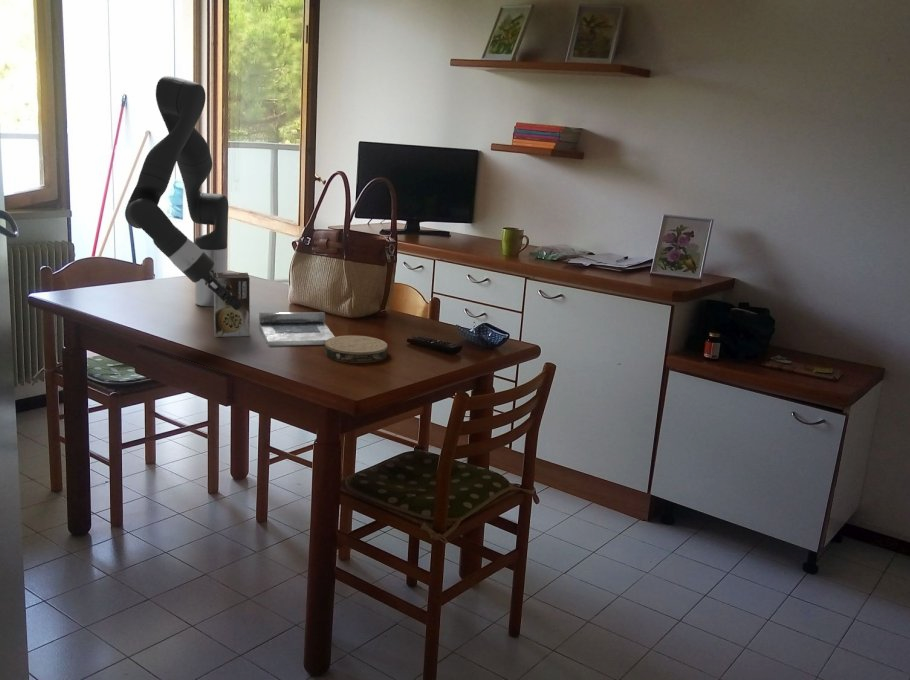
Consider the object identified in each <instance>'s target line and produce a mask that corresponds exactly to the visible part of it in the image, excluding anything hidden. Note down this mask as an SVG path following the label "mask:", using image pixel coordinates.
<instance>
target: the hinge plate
mask: <svg viewBox="0 0 910 680" xmlns="http://www.w3.org/2000/svg"><path fill="white" fill-rule="evenodd" d="M325 322H326V313H325V312H323V311H319V312H318V311H317V312H316V311H315V312H314V311H313V312H311V311H310V312H309V311H308V312H307V311H306V312H305V311H304V312H301V311H299V312H296V311H294V312H291V311H290V312H259V313H258V328H259V330H260V332H261V334H262V335H263V338H264V340H265V342H266V345H267V347H272V346H273V347H275V346H276V347H277V346H280V347H281V346H282V347H283V346H312V345H313V346H318V345H320V346H323V345H324V346H325V341H326V340H328V339H330V338H333V337H336V336H335V335H334V334H333V331H331V330H330V328H329V327H328V325H326V323H325Z"/></svg>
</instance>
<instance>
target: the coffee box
mask: <svg viewBox="0 0 910 680" xmlns="http://www.w3.org/2000/svg"><path fill="white" fill-rule="evenodd" d="M215 275H216V274H214V276H215ZM217 275H218V277H214V278H215V279H216V280H217V281H218V282H219V284H221V285H222V286H223V284H225V285H226V287H227V288H226V289H227V290H228V291H229V292H231V293H232V295H233V296H234V297H235V298H236V299H237V300H238V301H239V302H240V303H241V304H242V306H241V307H240V308H239V309H238V310H235V309H234V308H233V307H232V306H231V305H230V304H229V303H227V302H226V301H223V300H222V299H221V298H220V297H219V296H218V295H216V294H215V293H214V306H213V331H214V332H213V333H214V337H215V338H220V337H222V338H224V337H250V335H251V330H250V329H251V321H250V320H251V319H250V318H251V315H250V314H251V312H250V311H251V310H250V306H251V305H250V302H251V299H250V298H251V297H250V296H251V295H250V291H251V289H250V283H251V282H250V279H251V277H250V276H249V273H248V272H227V273H217ZM225 294H226V292H225V291H223V292H222V293H221V295H222V296H223V295H225Z"/></svg>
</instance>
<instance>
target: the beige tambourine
mask: <svg viewBox="0 0 910 680" xmlns="http://www.w3.org/2000/svg"><path fill="white" fill-rule="evenodd" d="M387 354H388V343H387V342H386V341H385V340H382V339H379V338H376V337H373V336H367V335H339V336H335V337H333V338H330V339H328V340H326V341H325V345H324V355H325V356H326V357H327V358H329V359H332V360H335V361H338V362H344V363H345V362H346V363H351V364H352V363H353V364H356V363H357V364H363V363H365V364H367V363H374V362H375V363H376V362H379V361H382V360H384V359H386V358H387V356H388V355H387Z"/></svg>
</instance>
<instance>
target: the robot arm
mask: <svg viewBox="0 0 910 680" xmlns="http://www.w3.org/2000/svg"><path fill="white" fill-rule="evenodd" d="M206 98H207V97H206V90H205V88H204V87H203V85H202V84H201V83H198V82H195V81H191V80H188V79H184V78H180V77H177V76H171V75H170V76H169V75H165V76H162V77H160V79H159V80H158V81H157V84H156V87H155V100H156V104H157V107H158V110H159V113H160V116H161V117H162V120H163V122H164V125H165V127H166V129H167V131H168V134H167V135H166V136H165V137H164V138H162V139H161V140H160V141H158V143H157V144H155V145H154V146H153V147H152V148H151V149H150V150H149V152H148V153H147V155H146V157H145V158H144V161H143V164H142V167H141V170H140V172H139V176H138V180H137V182H136V185H135V187H134V189H133V191H132V193H131V195H130V196H129V197H130V198H129V199H128V202H127V203H126V207H125V211H124V217H125V221H126V222H127V223H128V224H129V225H130V226H131V227H133V228H135V229H140V230H142V231H143V232H145V234H146V235H147V236H149V238H151V239H152V242H153V244H154V245H155V247H157V249H158V250H159V251H160V252H162V253H163V254H164V255H165V256H166V257H167V258H168V259H169V260H170V262H172V264H173V265H174V267H176V268H177V269H178V270H179V271H180V272H182V273H183V274H184V275H185V276H186V278H188V279H189V280H190V281H191V282H192V283H195V288H194V292H195V297H194V298H195V299H194V301H195V302H194V303H195V305H198V306H201V307H214V293H215V294H216V295H218V296H219V297H220V298H221V299H222V300H223V301H226V302H227V303H229V304H230V305H231V306H232V307H233V308H234V309H235V310H238V309H239V308H240V307H241V306H242V304H241V303H240V302H239V301H238V300H237V299H236V298H235V297H234V296H233V295H232V293H231V292H229V291H228V290H227V289H226V288H227V287H226V285H225V284H223V286H222V285H221V284H219V282H218V281H217V280H216V279H215V278H214V277H218V275H217V273H228V221H229V201H228V198H227V196H226V195H225V194H221V193H210V192H202V191H201V190H200V189H201V187H202V185H203V184H204V182H205V181H206V179H207V178H208V177H209V175H210V174H211V171H212V169H213V160H212V154H211V150H210V147H209V144H208V143H207V141H206V140H205V138H204V136H203V135H202V134H201V133H200V132H199V130H197V128H195V127H196V125H197V123H198V122H199V119H200V117H201V115H202V113H203V111H204V108H205V104H206ZM176 164H177V166H178V170H179V173H180V175H181V179H182V183H183V186H184V192H185V197H186V202H187V208H188V213H189V217H190V219H191V221H192V222H193V223H194V224H196V225H197V224H198V225H206V226H207V225H208V226H214V229H213V231H210V232H209V233H206V234H203V235H199V236H197V237H196V238H195V239H194V242H193V241H192V240H191V239H189V238H188V236H186V235H185V234H184V233H183V232H182V231H181V230H180V229H179V228H178V227H177V226H175V225H174V223H173V222H172V221H171V219H170V218H169V217H168V216H167V215H166V213H165V212H164V211H163V210H162V209H161V207H160V206H159V203H160V201H161V197H162V196H163V195H164V194H165V192H166V190H167V188H168V186H169V183H170V181H171V177H172V176H173V175H172V174H173V172H174V169H175V166H176ZM214 274H216V275H215V276H214ZM223 291H225V292H226V294H225V295H223V296H222V295H221V293H222V292H223Z"/></svg>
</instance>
